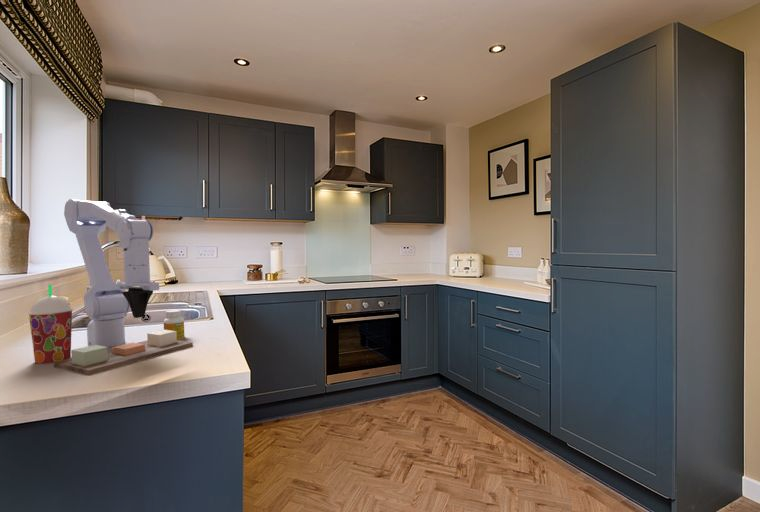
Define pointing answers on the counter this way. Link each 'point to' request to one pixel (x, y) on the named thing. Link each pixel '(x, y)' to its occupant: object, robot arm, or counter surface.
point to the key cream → (162, 338)
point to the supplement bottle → (174, 323)
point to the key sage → (89, 355)
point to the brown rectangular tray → (122, 358)
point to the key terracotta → (128, 348)
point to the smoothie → (51, 329)
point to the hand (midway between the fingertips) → (139, 317)
